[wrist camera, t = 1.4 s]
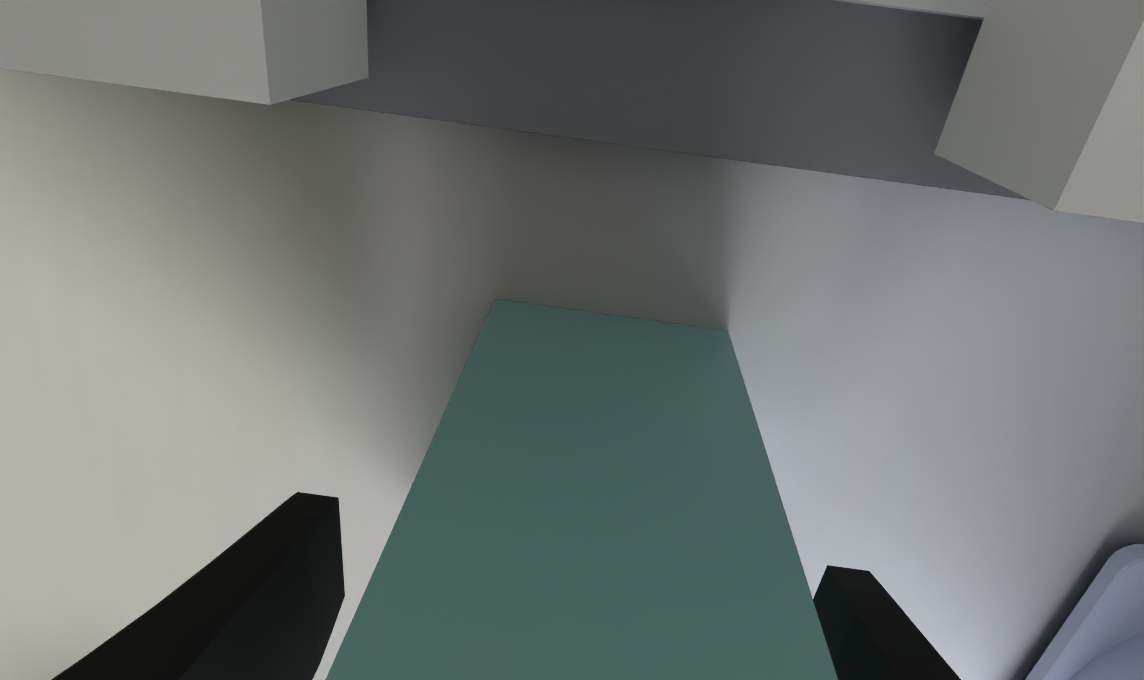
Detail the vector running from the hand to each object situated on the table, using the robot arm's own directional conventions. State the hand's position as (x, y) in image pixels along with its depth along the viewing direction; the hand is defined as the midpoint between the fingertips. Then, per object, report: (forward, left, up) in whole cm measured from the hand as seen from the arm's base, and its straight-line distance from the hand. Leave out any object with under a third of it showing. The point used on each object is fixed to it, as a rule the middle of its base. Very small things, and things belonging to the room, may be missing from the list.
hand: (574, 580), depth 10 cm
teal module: (0, 0, -3) cm, 3 cm away
